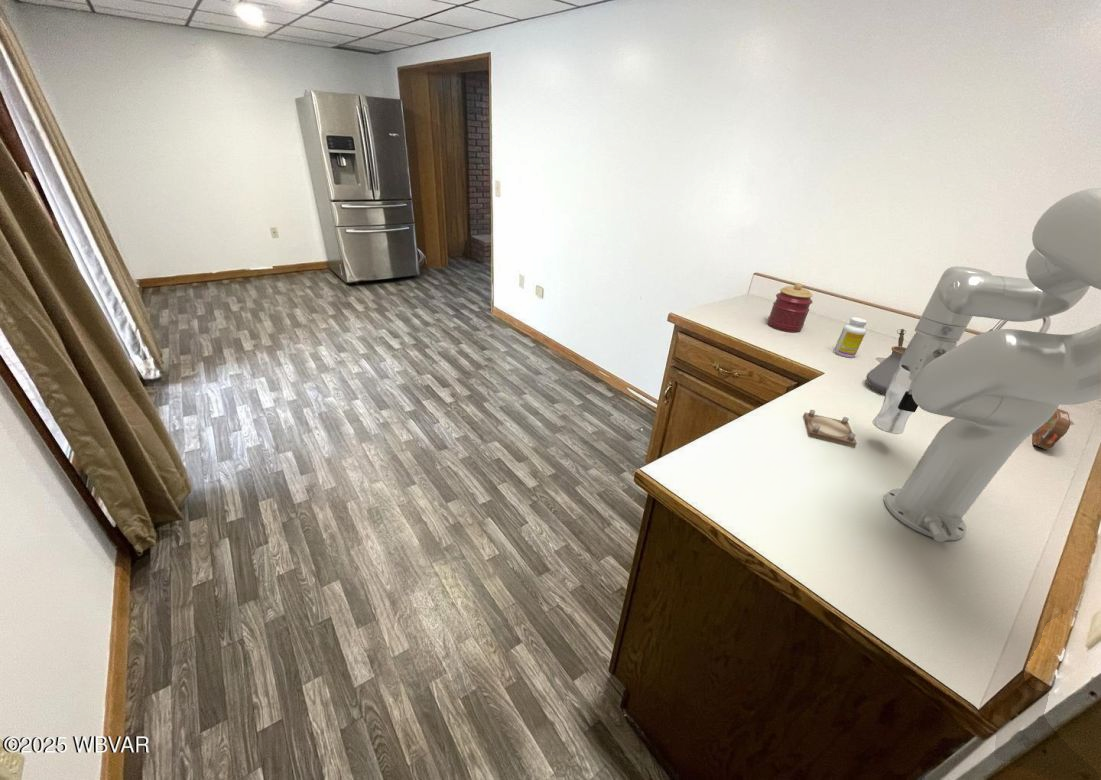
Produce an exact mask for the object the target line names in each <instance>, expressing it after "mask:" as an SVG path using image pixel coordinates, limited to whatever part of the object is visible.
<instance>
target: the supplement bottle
mask: <svg viewBox="0 0 1101 780" xmlns="http://www.w3.org/2000/svg"><path fill="white" fill-rule="evenodd" d="M867 323H868V321H867V320H866V319H864V318H860V317H855V316H853V317H851V318H850V320H849V324H845V325H844V326H843V329H842V330H841V332H840V335H839V337H838V339H837V341H836V344H835V346H834V349H833V352H834V353H835V354H837V355H838V356H841V357H845V358H855V356H856V355H857V353H858V351H859V348H860V346H861V344H862V341H863V339H864V337H865V336H866V334H867V330H866V328H865V326H866V325H867Z"/></svg>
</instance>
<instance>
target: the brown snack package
mask: <svg viewBox="0 0 1101 780" xmlns="http://www.w3.org/2000/svg"><path fill="white" fill-rule="evenodd" d="M1070 426H1071V419H1070V413H1069V412H1068V411H1066V410H1063V409H1061V408H1059V407H1058V408H1057V410H1056V412H1055V413H1054V415H1053V416H1052V417H1051V418H1050V419H1049V420H1048V421H1047V422H1046V423H1045V424H1043V425H1042V426H1041V427H1040V428H1039V429H1037V430H1036V431H1035V432H1033V433H1032V434H1031V435H1032V437H1031V438H1032V439H1031V440H1032V445H1033V446H1036V447H1038V448H1041V449H1045V450H1050V449H1052V448H1053V447H1054V446H1055V445H1056V443H1057V442H1058V441H1059V440H1061V438H1063V437H1064V436H1065V435H1066V434H1067V432H1068V431H1069V428H1070Z"/></svg>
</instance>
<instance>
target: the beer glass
mask: <svg viewBox="0 0 1101 780" xmlns="http://www.w3.org/2000/svg"><path fill="white" fill-rule="evenodd" d="M902 365H903V364H900V366H899V368H898V369H897V371H896V372H895V374H894V375H893V377H892V379H891V381H890V383H889V385H888V388H887V391H886V394H884V399H883V402H882V406H881V407H880V408H881V409H880V410H879V412H878V413H877V414H876V416H875V418H873V420H872V425H873V426H874V427H875V428H877V429H879V430H880V431H883V432H885V433H887V434H888V433H889V434H892V435H902V434H903V433H904V431H905V428H906V423H907V421H908V419H909V418H910V416H911V415H913V413H914V412H910V411H905V410H900V409H898V405H899V403H900V401H901V400H902V398H903V396H904V394H905V392H907V393H908V390H909V387H910V384H911V382H912V381H911V380H910V379H909V374H910V371H908V370H906V369H904V368H903V367H902Z"/></svg>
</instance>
